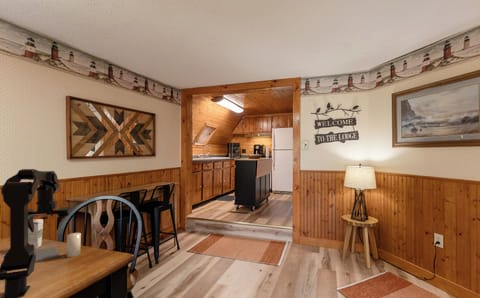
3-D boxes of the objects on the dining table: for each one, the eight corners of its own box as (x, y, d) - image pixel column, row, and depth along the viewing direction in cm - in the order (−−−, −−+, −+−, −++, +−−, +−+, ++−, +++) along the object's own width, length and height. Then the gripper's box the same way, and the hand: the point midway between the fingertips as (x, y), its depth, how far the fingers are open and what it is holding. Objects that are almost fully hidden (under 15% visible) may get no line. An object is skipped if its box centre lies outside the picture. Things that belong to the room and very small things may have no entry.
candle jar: (79, 255, 114) (80, 235, 114) (65, 258, 112) (66, 237, 112) (80, 251, 119) (81, 232, 119) (67, 253, 117) (68, 233, 117)
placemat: (59, 256, 113) (60, 255, 113) (29, 263, 105) (29, 262, 105) (53, 247, 124) (53, 246, 124) (25, 253, 116) (25, 252, 116)
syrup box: (28, 246, 125) (30, 219, 125) (42, 245, 127) (43, 218, 127) (23, 250, 119) (24, 222, 120) (37, 249, 122) (38, 221, 122)
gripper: (74, 192, 118) (74, 222, 119) (27, 194, 111) (27, 226, 112) (68, 198, 108) (67, 231, 109) (15, 201, 100) (16, 236, 102)
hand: (45, 230), depth 108 cm, fingers open, 9 cm apart
